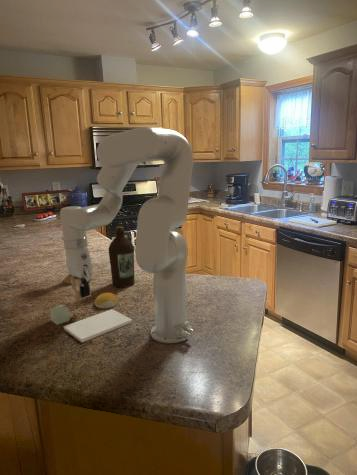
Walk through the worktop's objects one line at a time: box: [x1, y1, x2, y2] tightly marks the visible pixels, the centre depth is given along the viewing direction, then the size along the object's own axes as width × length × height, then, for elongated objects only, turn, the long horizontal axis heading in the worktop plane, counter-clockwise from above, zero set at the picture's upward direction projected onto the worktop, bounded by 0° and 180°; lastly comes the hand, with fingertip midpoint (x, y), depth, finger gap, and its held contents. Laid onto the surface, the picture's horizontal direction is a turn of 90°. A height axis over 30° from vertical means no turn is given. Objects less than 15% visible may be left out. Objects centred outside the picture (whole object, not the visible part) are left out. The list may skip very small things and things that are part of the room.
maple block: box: [70, 275, 92, 301], centre depth 121 cm, size 4×4×7 cm
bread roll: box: [94, 292, 118, 309], centre depth 131 cm, size 8×9×4 cm
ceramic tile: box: [63, 309, 133, 343], centre depth 113 cm, size 12×18×1 cm, turn 133°
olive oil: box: [108, 226, 135, 288], centre depth 149 cm, size 11×11×25 cm
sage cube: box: [49, 304, 71, 326], centre depth 118 cm, size 4×4×4 cm
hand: (81, 294), depth 122 cm, fingers closed on maple block, 4 cm apart
